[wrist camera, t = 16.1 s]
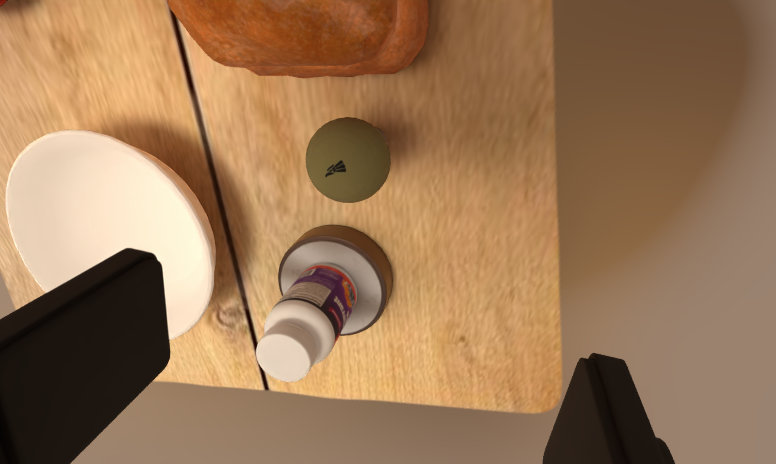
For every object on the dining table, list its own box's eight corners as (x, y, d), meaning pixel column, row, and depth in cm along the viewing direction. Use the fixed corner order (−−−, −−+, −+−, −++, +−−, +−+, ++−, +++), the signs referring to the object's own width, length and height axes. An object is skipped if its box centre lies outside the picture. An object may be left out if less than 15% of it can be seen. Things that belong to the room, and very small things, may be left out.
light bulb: (368, 88, 35) (325, 105, 26) (422, 136, 36) (398, 169, 27) (328, 142, 38) (275, 174, 29) (379, 186, 38) (343, 232, 29)
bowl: (30, 172, 46) (-37, 191, 40) (167, 76, 39) (109, 82, 33) (147, 330, 51) (102, 368, 45) (288, 271, 44) (256, 307, 38)
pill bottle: (357, 320, 41) (318, 398, 32) (299, 309, 41) (247, 381, 33) (361, 267, 38) (321, 334, 30) (300, 255, 39) (244, 318, 30)
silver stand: (290, 215, 41) (277, 227, 39) (398, 236, 40) (392, 249, 37) (288, 308, 45) (275, 324, 43) (386, 330, 44) (379, 348, 41)
